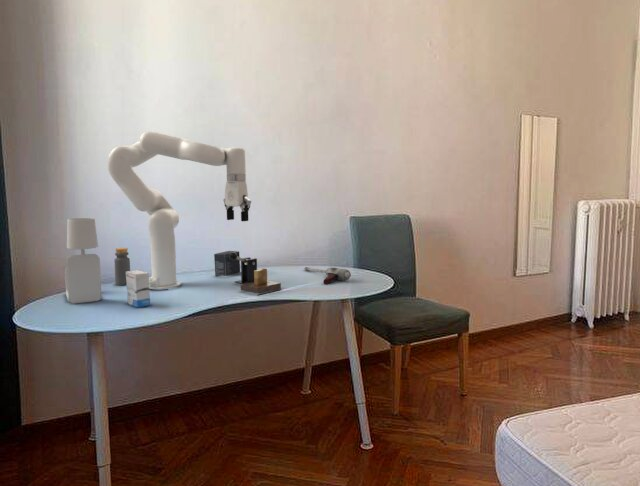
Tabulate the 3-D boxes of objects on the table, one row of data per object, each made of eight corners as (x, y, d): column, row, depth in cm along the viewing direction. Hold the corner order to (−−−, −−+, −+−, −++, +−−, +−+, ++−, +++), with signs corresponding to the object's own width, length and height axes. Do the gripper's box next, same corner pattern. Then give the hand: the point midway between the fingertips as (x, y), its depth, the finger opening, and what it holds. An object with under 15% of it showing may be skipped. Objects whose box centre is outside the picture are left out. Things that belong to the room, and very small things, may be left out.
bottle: (115, 283, 222) (114, 247, 220) (130, 282, 224) (129, 247, 222) (115, 285, 216) (113, 249, 215) (130, 284, 218) (128, 249, 217)
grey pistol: (287, 280, 246) (310, 272, 254) (331, 288, 218) (355, 279, 226) (285, 270, 245) (308, 262, 253) (328, 277, 218) (353, 268, 225)
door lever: (231, 259, 211) (234, 251, 212) (226, 258, 213) (229, 250, 214) (252, 267, 220) (255, 260, 221) (247, 266, 222) (250, 259, 223)
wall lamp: (96, 291, 207) (92, 214, 203) (103, 302, 189) (99, 219, 185) (65, 294, 201) (61, 215, 198) (70, 306, 183) (65, 220, 180)
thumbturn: (257, 284, 205) (257, 270, 205) (254, 284, 206) (254, 269, 206) (267, 282, 209) (267, 268, 208) (263, 282, 210) (263, 268, 210)
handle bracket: (247, 287, 215) (246, 260, 214) (234, 284, 220) (234, 258, 219) (263, 283, 222) (263, 258, 221) (251, 280, 227) (250, 256, 226)
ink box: (150, 305, 185) (149, 272, 184) (136, 308, 181) (135, 274, 180) (140, 301, 191) (139, 269, 190) (126, 303, 187) (125, 271, 186)
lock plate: (257, 295, 200) (257, 287, 200) (240, 291, 207) (240, 284, 206) (280, 290, 210) (280, 282, 209) (263, 286, 216) (263, 279, 215)
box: (229, 272, 246) (228, 250, 245) (240, 273, 243) (240, 251, 242) (214, 276, 236) (213, 253, 235) (225, 277, 234) (225, 254, 232)
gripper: (216, 178, 216) (217, 219, 218) (241, 178, 205) (242, 222, 207) (231, 178, 222) (232, 218, 224) (257, 178, 210) (258, 221, 212)
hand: (237, 220), depth 215 cm, fingers open, 9 cm apart
